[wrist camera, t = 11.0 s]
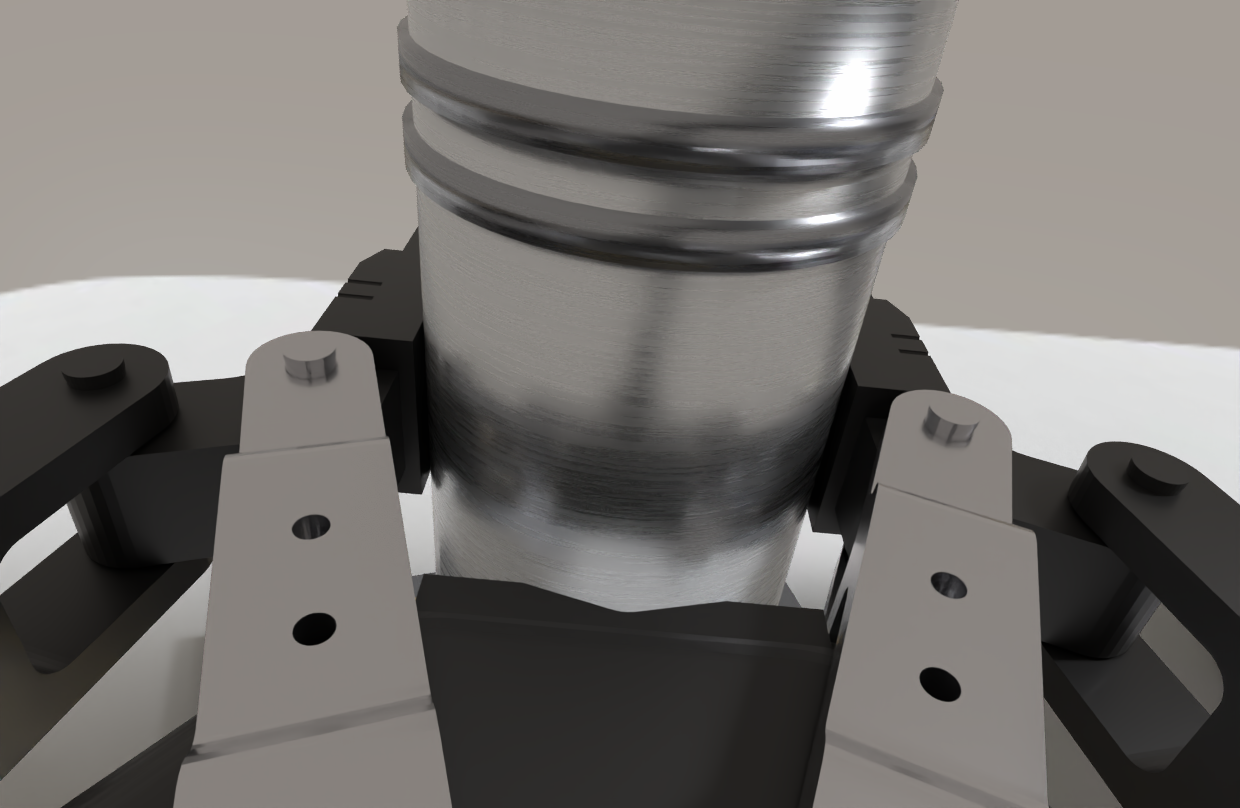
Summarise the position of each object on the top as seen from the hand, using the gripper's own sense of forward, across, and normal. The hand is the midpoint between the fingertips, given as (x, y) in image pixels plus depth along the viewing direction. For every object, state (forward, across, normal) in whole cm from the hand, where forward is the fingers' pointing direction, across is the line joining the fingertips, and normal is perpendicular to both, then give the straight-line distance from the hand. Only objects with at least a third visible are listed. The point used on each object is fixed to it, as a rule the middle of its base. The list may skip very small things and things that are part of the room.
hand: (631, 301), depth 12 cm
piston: (-3, 0, +7) cm, 7 cm away
